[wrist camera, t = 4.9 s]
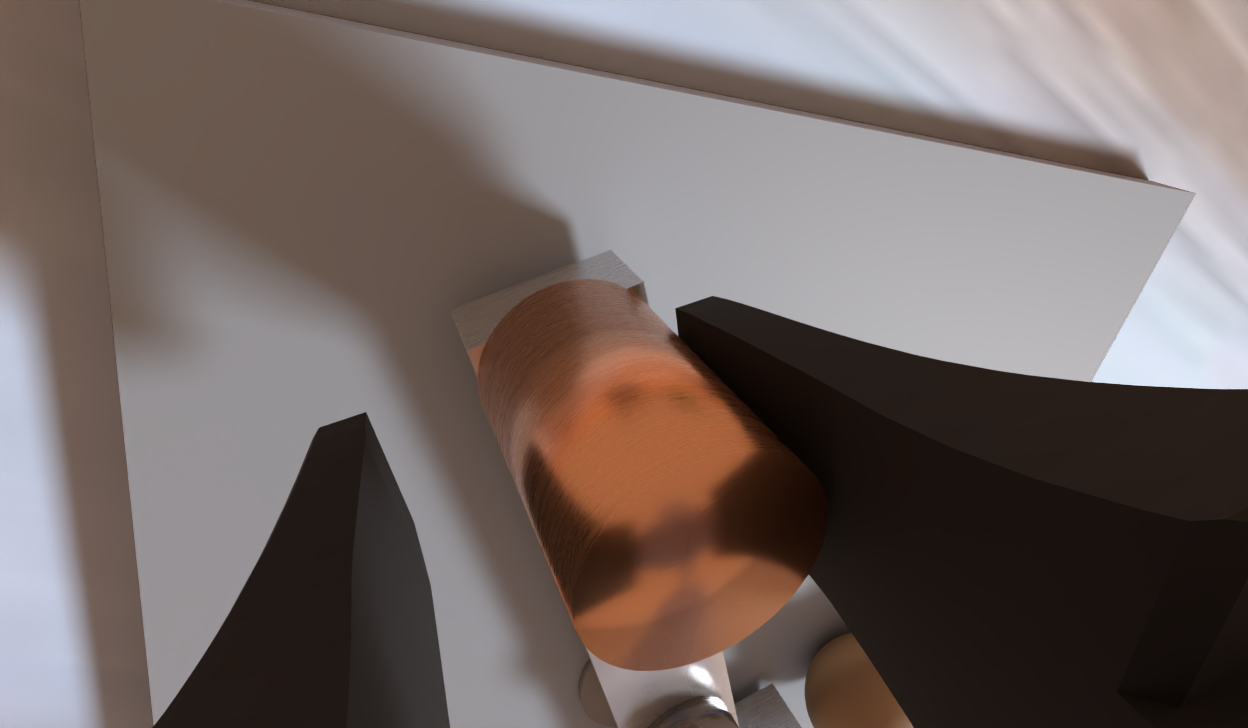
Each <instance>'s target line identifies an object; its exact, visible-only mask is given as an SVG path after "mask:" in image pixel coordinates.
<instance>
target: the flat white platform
mask: <svg viewBox="0 0 1248 728" xmlns="http://www.w3.org/2000/svg"><path fill="white" fill-rule="evenodd" d="M79 4H80V14H81V24H82V33H83V43H84V53H85V63H86V72H87V82H88V92H89V102H90V111H91V121H92V131H93V141H94V150H95V160H96V170H97V180H98V189H99V199H100V209H101V218H102V228H103V238H104V248H105V257H106V267H107V277H108V287H109V296H110V306H111V316H112V326H113V335H114V345H115V355H116V365H117V374H118V384H119V394H120V404H121V413H122V423H123V433H124V442H125V452H126V462H127V472H128V481H129V491H130V501H131V511H132V520H133V530H134V540H135V550H136V559H137V569H138V579H139V589H140V598H141V608H142V618H143V627H144V637H145V647H146V657H147V666H148V676H149V686H150V696H151V705H152V715H153V725H155V724H156V722H157V721H158V720H159V719H160V717H161V716H162V715H163V713H164V712H165V711H166V709H167V708H168V706H169V705H170V704H171V702H172V701H173V699H174V698H175V697H176V695H177V694H178V692H179V691H180V689H181V688H182V686H183V685H184V683H185V682H186V680H187V679H188V677H189V676H190V675H191V673H192V672H193V670H194V669H195V667H196V666H197V664H198V663H199V661H200V660H201V658H202V657H203V655H204V653H205V652H206V650H207V649H208V647H209V646H210V644H211V642H212V641H213V639H214V637H215V636H216V634H217V632H218V631H219V629H220V628H221V626H222V624H223V623H224V621H225V619H226V617H227V616H228V614H229V612H230V611H231V609H232V607H233V605H234V603H235V601H236V600H237V598H238V596H239V594H240V592H241V590H242V589H243V587H244V585H245V583H246V581H247V579H248V578H249V576H250V574H251V572H252V570H253V569H254V567H255V565H256V563H257V561H258V559H259V557H260V555H261V553H262V551H263V550H264V548H265V546H266V543H267V541H268V539H269V537H270V535H271V533H272V531H273V529H274V527H275V524H276V522H277V520H278V518H279V516H280V514H281V512H282V510H283V508H284V505H285V503H286V501H287V499H288V496H289V494H290V492H291V490H292V487H293V485H294V483H295V480H296V478H297V476H298V473H299V471H300V468H301V466H302V464H303V461H304V459H305V456H306V454H307V451H308V449H309V446H310V444H311V442H312V439H313V437H314V435H315V434H316V432H317V430H318V428H319V427H322V426H325V425H328V424H331V423H334V422H337V421H340V420H343V419H346V418H349V417H352V416H355V415H358V414H361V413H364V412H366V413H367V415H368V417H369V420H370V422H371V424H372V427H373V429H374V431H375V434H376V436H377V438H378V440H379V443H380V445H381V447H382V450H383V452H384V454H385V456H386V459H387V461H388V463H389V466H390V468H391V470H392V473H393V475H394V477H395V479H396V482H397V484H398V486H399V489H400V491H401V493H402V495H403V498H404V500H405V502H406V505H407V507H408V509H409V512H410V514H411V516H412V518H413V521H414V524H415V527H416V531H417V535H418V539H419V542H420V546H421V550H422V553H423V557H424V561H425V565H426V569H427V573H428V576H429V580H430V584H431V590H432V597H433V604H434V612H435V619H436V626H437V633H438V640H439V648H440V655H441V663H442V670H443V678H444V685H445V693H446V700H447V708H448V715H449V723H450V728H618V727H617V725H616V722H615V720H614V717H613V715H612V712H611V710H610V708H609V705H608V703H607V700H606V698H605V695H604V693H603V690H602V688H601V685H600V683H599V680H598V678H597V675H596V673H595V670H594V668H593V665H592V663H591V660H590V658H589V655H588V653H587V650H586V648H585V645H584V644H583V643H582V641H581V639H580V637H579V635H578V633H577V631H576V629H575V627H574V624H573V622H572V619H571V617H570V615H569V612H568V610H567V607H566V605H565V603H564V600H563V598H562V595H561V593H560V591H559V588H558V586H557V583H556V581H555V579H554V576H553V574H552V571H551V569H550V567H549V564H548V562H547V560H546V557H545V555H544V552H543V550H542V548H541V545H540V543H539V540H538V538H537V536H536V533H535V531H534V528H533V526H532V524H531V521H530V519H529V516H528V514H527V512H526V509H525V507H524V504H523V502H522V500H521V497H520V495H519V492H518V490H517V488H516V485H515V483H514V480H513V478H512V476H511V473H510V471H509V468H508V466H507V464H506V461H505V459H504V457H503V454H502V452H501V449H500V447H499V445H498V442H497V440H496V437H495V435H494V433H493V430H492V428H491V425H490V423H489V421H488V418H487V416H486V413H485V411H484V409H483V406H482V403H481V400H480V397H479V390H478V379H477V376H476V374H475V372H474V369H473V367H472V364H471V362H470V359H469V357H468V354H467V352H466V349H465V347H464V344H463V342H462V339H461V337H460V334H459V332H458V329H457V327H456V324H455V322H454V319H453V317H452V314H451V312H450V310H451V309H454V308H456V307H459V306H462V305H464V304H467V303H470V302H472V301H475V300H478V299H480V298H483V297H486V296H488V295H491V294H494V293H496V292H499V291H502V290H504V289H507V288H510V287H513V286H515V285H518V284H521V283H523V282H526V281H529V280H531V279H534V278H537V277H539V276H542V275H545V274H547V273H550V272H553V271H555V270H558V269H561V268H563V267H566V266H569V265H571V264H574V263H577V262H579V261H582V260H585V259H587V258H590V257H593V256H595V255H598V254H601V253H604V252H606V251H609V250H611V251H612V252H613V253H614V254H615V255H617V256H618V257H619V258H620V259H621V260H622V261H623V262H624V263H625V264H626V265H627V266H628V267H629V268H630V269H631V270H632V271H633V272H634V273H635V274H636V275H637V276H638V277H639V278H640V279H641V280H643V281H644V284H645V289H646V294H647V298H648V303H649V307H650V308H651V309H652V310H653V311H654V312H655V313H656V314H657V315H658V316H659V317H660V318H661V319H662V320H663V321H664V322H665V323H666V324H667V325H668V326H669V327H670V328H671V329H672V330H673V331H674V332H675V333H676V334H677V335H678V328H677V319H676V311H675V308H678V307H681V306H684V305H687V304H690V303H693V302H696V301H699V300H702V299H705V298H708V297H711V296H716V297H720V298H724V299H728V300H732V301H735V302H738V303H742V304H745V305H748V306H751V307H755V308H758V309H761V310H764V311H767V312H770V313H773V314H776V315H779V316H782V317H785V318H788V319H792V320H795V321H798V322H801V323H804V324H807V325H810V326H813V327H817V328H820V329H823V330H826V331H830V332H833V333H836V334H840V335H843V336H846V337H850V338H853V339H857V340H860V341H864V342H867V343H871V344H875V345H879V346H883V347H887V348H891V349H895V350H899V351H902V352H906V353H910V354H914V355H919V356H923V357H928V358H933V359H937V360H942V361H947V362H953V363H958V364H964V365H969V366H975V367H980V368H986V369H991V370H997V371H1004V372H1011V373H1017V374H1024V375H1032V376H1041V377H1050V378H1058V379H1067V380H1076V381H1085V382H1091V381H1092V379H1093V378H1094V376H1095V374H1096V372H1097V370H1098V369H1099V367H1100V365H1101V363H1102V361H1103V360H1104V358H1105V356H1106V354H1107V352H1108V351H1109V349H1110V347H1111V345H1112V343H1113V342H1114V340H1115V338H1116V336H1117V335H1118V333H1119V331H1120V329H1121V327H1122V326H1123V324H1124V322H1125V320H1126V318H1127V317H1128V315H1129V313H1130V311H1131V309H1132V308H1133V306H1134V304H1135V302H1136V300H1137V299H1138V297H1139V295H1140V293H1141V291H1142V290H1143V288H1144V286H1145V284H1146V282H1147V281H1148V279H1149V277H1150V275H1151V273H1152V272H1153V270H1154V268H1155V266H1156V264H1157V263H1158V261H1159V259H1160V257H1161V255H1162V254H1163V252H1164V250H1165V248H1166V247H1167V245H1168V243H1169V241H1170V239H1171V238H1172V236H1173V234H1174V232H1175V230H1176V229H1177V227H1178V225H1179V223H1180V221H1181V220H1182V218H1183V216H1184V214H1185V212H1186V211H1187V209H1188V207H1189V205H1190V203H1191V202H1192V200H1193V198H1194V196H1195V194H1196V193H1192V192H1189V191H1185V190H1182V189H1178V188H1174V187H1171V186H1167V185H1164V184H1160V183H1157V182H1153V181H1149V180H1144V179H1139V178H1134V177H1129V176H1124V175H1119V174H1114V173H1109V172H1104V171H1099V170H1094V169H1089V168H1084V167H1079V166H1074V165H1069V164H1064V163H1059V162H1054V161H1049V160H1044V159H1039V158H1034V157H1029V156H1024V155H1019V154H1014V153H1009V152H1004V151H999V150H994V149H989V148H984V147H979V146H974V145H969V144H964V143H959V142H954V141H949V140H944V139H939V138H934V137H929V136H924V135H919V134H914V133H909V132H904V131H899V130H894V129H889V128H884V127H879V126H874V125H869V124H864V123H859V122H854V121H849V120H844V119H839V118H834V117H829V116H824V115H819V114H814V113H809V112H804V111H799V110H795V109H790V108H785V107H780V106H775V105H770V104H765V103H760V102H755V101H750V100H745V99H740V98H735V97H730V96H725V95H720V94H715V93H710V92H705V91H700V90H695V89H690V88H685V87H680V86H675V85H670V84H665V83H660V82H655V81H650V80H645V79H640V78H635V77H630V76H625V75H620V74H615V73H610V72H605V71H600V70H595V69H590V68H585V67H580V66H575V65H570V64H565V63H560V62H555V61H550V60H545V59H540V58H535V57H530V56H525V55H520V54H515V53H510V52H505V51H500V50H495V49H490V48H485V47H480V46H475V45H470V44H465V43H460V42H455V41H450V40H445V39H440V38H435V37H430V36H425V35H420V34H415V33H410V32H405V31H400V30H395V29H390V28H385V27H380V26H375V25H370V24H365V23H360V22H355V21H350V20H345V19H340V18H335V17H330V16H325V15H320V14H315V13H310V12H305V11H300V10H295V9H290V8H285V7H280V6H275V5H270V4H265V3H260V2H255V1H250V0H79ZM847 633H851V631H850V630H849V629H848V627H847V626H846V624H845V623H844V621H843V620H842V618H841V617H840V615H839V614H838V612H837V611H836V610H835V608H834V607H833V605H832V604H831V602H830V601H829V600H828V598H827V597H826V596H825V594H824V593H823V592H822V591H821V589H820V588H819V587H818V585H817V584H816V583H815V582H814V580H813V579H812V578H811V576H810V575H809V574H808V576H807V577H806V579H805V580H804V582H803V583H802V585H801V586H800V587H799V589H798V590H797V591H796V592H795V594H794V595H793V596H792V597H791V598H790V600H789V601H788V602H787V603H786V604H785V605H784V606H783V607H782V608H781V609H780V610H779V611H778V612H777V613H776V614H775V615H774V616H773V617H772V618H770V619H769V620H768V621H767V622H766V623H765V624H763V625H762V626H761V627H760V628H758V629H757V630H756V631H754V632H753V633H752V634H750V635H749V636H747V637H746V638H744V639H743V640H741V641H740V642H738V643H736V644H734V645H733V646H731V647H729V648H727V649H726V650H724V651H723V654H724V658H725V663H726V668H727V672H728V677H729V682H730V686H731V691H732V696H733V701H734V704H735V703H737V702H738V701H740V700H742V699H744V698H746V697H748V696H750V695H751V694H753V693H755V692H757V691H759V690H761V689H763V688H764V687H766V686H768V685H770V684H772V683H773V685H774V686H775V688H776V689H777V691H778V692H779V694H780V695H781V697H782V698H783V700H784V701H785V703H786V705H787V706H788V708H789V709H790V711H791V712H792V714H793V715H794V717H795V718H796V720H797V721H798V723H799V724H800V726H801V728H814V727H813V725H812V723H811V721H810V718H809V716H808V712H807V709H806V703H805V680H806V675H807V672H808V668H809V666H810V664H811V662H812V660H813V658H814V657H815V655H816V654H817V652H818V651H819V650H820V649H821V648H822V647H823V646H824V645H825V644H827V643H828V642H829V641H831V640H832V639H834V638H836V637H838V636H841V635H844V634H847Z"/></svg>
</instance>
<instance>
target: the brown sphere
mask: <svg viewBox="0 0 1248 728" xmlns="http://www.w3.org/2000/svg"><path fill="white" fill-rule="evenodd" d="M805 703H806V709H807V712H808V716H809V718H810V721H811V723H812V725H813V727H814V728H914V727H913V726H912V724H911V722H910V721H909V719H908V718H907V716H906V715H905V713H904V712H903V710H902V708H901V707H900V705H899V704H898V702H897V701H896V699H895V698H894V696H893V695H892V693H891V692H890V690H889V688H888V687H887V685H886V684H885V682H884V681H883V679H882V678H881V676H880V675H879V673H878V672H877V670H876V668H875V667H874V665H873V664H872V662H871V661H870V659H869V658H868V656H867V655H866V653H865V652H864V650H863V649H862V648H861V646H860V645H859V643H858V642H857V640H856V639H855V637H854V636H853V634H852V633H847V634H844V635H841V636H838V637H836V638H834V639H832V640H831V641H829V642H828V643H827V644H825V645H824V646H823V647H822V648H821V649H820V650H819V651H818V652H817V654H816V655H815V657H814V658H813V660H812V662H811V664H810V666H809V668H808V672H807V675H806V680H805Z"/></svg>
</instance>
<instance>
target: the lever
mask: <svg viewBox="0 0 1248 728" xmlns="http://www.w3.org/2000/svg"><path fill="white" fill-rule="evenodd" d="M450 312H451V314H452V317H453V319H454V322H455V324H456V327H457V329H458V332H459V334H460V337H461V339H462V342H463V344H464V347H465V349H466V352H467V354H468V357H469V359H470V362H471V364H472V367H473V369H474V372H475V374H476V376H477V379H478V390H479V397H480V400H481V403H482V406H483V409H484V411H485V413H486V416H487V418H488V421H489V423H490V425H491V428H492V430H493V433H494V435H495V437H496V440H497V442H498V445H499V447H500V449H501V452H502V454H503V457H504V459H505V461H506V464H507V466H508V468H509V471H510V473H511V476H512V478H513V480H514V483H515V485H516V488H517V490H518V492H519V495H520V497H521V500H522V502H523V504H524V507H525V509H526V512H527V514H528V516H529V519H530V521H531V524H532V526H533V528H534V531H535V533H536V536H537V538H538V540H539V543H540V545H541V548H542V550H543V552H544V555H545V557H546V560H547V562H548V564H549V567H550V569H551V571H552V574H553V576H554V579H555V581H556V583H557V586H558V588H559V591H560V593H561V595H562V598H563V600H564V603H565V605H566V607H567V610H568V612H569V615H570V617H571V619H572V622H573V624H574V627H575V629H576V631H577V633H578V635H579V637H580V639H581V641H582V643H583V644H584V645H585V648H586V650H587V653H588V655H589V658H590V660H591V663H592V665H593V668H594V670H595V673H596V675H597V678H598V680H599V683H600V685H601V688H602V690H603V693H604V695H605V698H606V700H607V703H608V705H609V708H610V710H611V712H612V715H613V717H614V720H615V722H616V725H617V727H618V728H801V726H800V724H799V723H798V721H797V720H796V718H795V717H794V715H793V714H792V712H791V711H790V709H789V708H788V706H787V705H786V703H785V701H784V700H783V698H782V697H781V695H780V694H779V692H778V691H777V689H776V688H775V686H774V685H773V683H772V684H770V685H768V686H766V687H764V688H763V689H761V690H759V691H757V692H755V693H753V694H751V695H750V696H748V697H746V698H744V699H742V700H740V701H738V702H737V703H735V704H734V701H733V696H732V691H731V686H730V682H729V677H728V672H727V668H726V663H725V658H724V654H723V651H724V650H726V649H727V648H729V647H731V646H733V645H734V644H736V643H738V642H740V641H741V640H743V639H744V638H746V637H747V636H749V635H750V634H752V633H753V632H754V631H756V630H757V629H758V628H760V627H761V626H762V625H763V624H765V623H766V622H767V621H768V620H769V619H770V618H772V617H773V616H774V615H775V614H776V613H777V612H778V611H779V610H780V609H781V608H782V607H783V606H784V605H785V604H786V603H787V602H788V601H789V600H790V598H791V597H792V596H793V595H794V594H795V592H796V591H797V590H798V589H799V587H800V586H801V585H802V583H803V582H804V580H805V579H806V577H807V576H808V574H809V572H810V571H811V569H812V567H813V565H814V564H815V562H816V559H817V557H818V555H819V553H820V550H821V548H822V544H823V541H824V538H825V534H826V528H827V522H828V508H827V501H826V496H825V493H824V491H823V488H822V486H821V484H820V482H819V481H818V479H817V477H816V476H815V475H814V474H813V473H812V472H811V471H810V469H809V468H808V467H807V466H806V465H805V464H804V463H803V462H802V461H801V460H800V459H799V458H798V457H797V456H796V455H795V454H794V453H793V452H792V451H791V450H790V449H789V448H788V447H787V446H786V445H785V444H784V443H783V442H782V441H781V440H780V439H779V438H778V437H777V436H776V435H775V434H774V433H773V432H772V431H771V430H770V429H769V428H768V427H767V426H766V425H765V424H764V423H763V422H762V421H761V420H760V419H759V418H758V417H757V416H756V415H755V414H754V413H753V412H752V411H751V410H750V408H749V407H748V406H747V405H746V404H745V403H744V402H743V401H742V400H741V399H740V398H739V397H738V396H737V395H736V394H735V393H734V392H733V391H732V390H731V389H730V388H729V387H728V386H727V385H726V384H725V383H724V382H723V381H722V380H721V379H720V378H719V377H718V376H717V375H716V374H715V373H714V372H713V371H712V370H711V369H710V368H709V367H708V366H707V365H706V364H705V363H704V362H703V361H702V360H701V359H700V358H699V357H698V356H697V355H696V354H695V353H694V352H693V351H692V350H691V349H690V348H689V347H688V346H687V345H686V344H685V343H684V341H683V340H682V339H681V338H680V337H679V336H678V335H677V334H676V333H675V332H674V331H673V330H672V329H671V328H670V327H669V326H668V325H667V324H666V323H665V322H664V321H663V320H662V319H661V318H660V317H659V316H658V315H657V314H656V313H655V312H654V311H653V310H652V309H651V308H650V307H649V303H648V298H647V294H646V289H645V284H644V281H643V280H641V279H640V278H639V277H638V276H637V275H636V274H635V273H634V272H633V271H632V270H631V269H630V268H629V267H628V266H627V265H626V264H625V263H624V262H623V261H622V260H621V259H620V258H619V257H618V256H617V255H615V254H614V253H613V252H612V251H611V250H609V251H606V252H604V253H601V254H598V255H595V256H593V257H590V258H587V259H585V260H582V261H579V262H577V263H574V264H571V265H569V266H566V267H563V268H561V269H558V270H555V271H553V272H550V273H547V274H545V275H542V276H539V277H537V278H534V279H531V280H529V281H526V282H523V283H521V284H518V285H515V286H513V287H510V288H507V289H504V290H502V291H499V292H496V293H494V294H491V295H488V296H486V297H483V298H480V299H478V300H475V301H472V302H470V303H467V304H464V305H462V306H459V307H456V308H454V309H451V310H450Z"/></svg>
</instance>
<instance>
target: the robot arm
mask: <svg viewBox="0 0 1248 728" xmlns="http://www.w3.org/2000/svg"><path fill="white" fill-rule="evenodd" d="M675 311H676V319H677V328H678V336H679V337H680V338H681V339H682V340H683V341H684V343H685V344H686V345H687V346H688V347H689V348H690V349H691V350H692V351H693V352H694V353H695V354H696V355H697V356H698V357H699V358H700V359H701V360H702V361H703V362H704V363H705V364H706V365H707V366H708V367H709V368H710V369H711V370H712V371H713V372H714V373H715V374H716V375H717V376H718V377H719V378H720V379H721V380H722V381H723V382H724V383H725V384H726V385H727V386H728V387H729V388H730V389H731V390H732V391H733V392H734V393H735V394H736V395H737V396H738V397H739V398H740V399H741V400H742V401H743V402H744V403H745V404H746V405H747V406H748V407H749V408H750V410H751V411H752V412H753V413H754V414H755V415H756V416H757V417H758V418H759V419H760V420H761V421H762V422H763V423H764V424H765V425H766V426H767V427H768V428H769V429H770V430H771V431H772V432H773V433H774V434H775V435H776V436H777V437H778V438H779V439H780V440H781V441H782V442H783V443H784V444H785V445H786V446H787V447H788V448H789V449H790V450H791V451H792V452H793V453H794V454H795V455H796V456H797V457H798V458H799V459H800V460H801V461H802V462H803V463H804V464H805V465H806V466H807V467H808V468H809V469H810V471H811V472H812V473H813V474H814V475H815V476H816V477H817V479H818V481H819V482H820V484H821V486H822V488H823V491H824V493H825V496H826V501H827V508H828V522H827V528H826V534H825V538H824V541H823V544H822V548H821V550H820V553H819V555H818V557H817V559H816V562H815V564H814V565H813V567H812V569H811V571H810V572H809V575H810V576H811V578H812V579H813V580H814V582H815V583H816V584H817V585H818V587H819V588H820V589H821V591H822V592H823V593H824V594H825V596H826V597H827V598H828V600H829V601H830V602H831V604H832V605H833V607H834V608H835V610H836V611H837V612H838V614H839V615H840V617H841V618H842V620H843V621H844V623H845V624H846V626H847V627H848V629H849V630H850V631H851V633H852V634H853V636H854V637H855V639H856V640H857V642H858V643H859V645H860V646H861V648H862V649H863V650H864V652H865V653H866V655H867V656H868V658H869V659H870V661H871V662H872V664H873V665H874V667H875V668H876V670H877V672H878V673H879V675H880V676H881V678H882V679H883V681H884V682H885V684H886V685H887V687H888V688H889V690H890V692H891V693H892V695H893V696H894V698H895V699H896V701H897V702H898V704H899V705H900V707H901V708H902V710H903V712H904V713H905V715H906V716H907V718H908V719H909V721H910V722H911V724H912V726H913V727H914V728H1248V389H1195V388H1174V387H1153V386H1134V385H1121V384H1108V383H1095V382H1085V381H1076V380H1067V379H1058V378H1050V377H1041V376H1032V375H1024V374H1017V373H1011V372H1004V371H997V370H991V369H986V368H980V367H975V366H969V365H964V364H958V363H953V362H947V361H942V360H937V359H933V358H928V357H923V356H919V355H914V354H910V353H906V352H902V351H899V350H895V349H891V348H887V347H883V346H879V345H875V344H871V343H867V342H864V341H860V340H857V339H853V338H850V337H846V336H843V335H840V334H836V333H833V332H830V331H826V330H823V329H820V328H817V327H813V326H810V325H807V324H804V323H801V322H798V321H795V320H792V319H788V318H785V317H782V316H779V315H776V314H773V313H770V312H767V311H764V310H761V309H758V308H755V307H751V306H748V305H745V304H742V303H738V302H735V301H732V300H728V299H724V298H720V297H716V296H711V297H708V298H705V299H702V300H699V301H696V302H693V303H690V304H687V305H684V306H681V307H678V308H675ZM153 728H450V723H449V715H448V708H447V700H446V693H445V685H444V678H443V670H442V663H441V655H440V648H439V640H438V633H437V626H436V619H435V612H434V604H433V597H432V590H431V584H430V580H429V576H428V573H427V569H426V565H425V561H424V557H423V553H422V550H421V546H420V542H419V539H418V535H417V531H416V527H415V524H414V521H413V518H412V516H411V514H410V512H409V509H408V507H407V505H406V502H405V500H404V498H403V495H402V493H401V491H400V489H399V486H398V484H397V482H396V479H395V477H394V475H393V473H392V470H391V468H390V466H389V463H388V461H387V459H386V456H385V454H384V452H383V450H382V447H381V445H380V443H379V440H378V438H377V436H376V434H375V431H374V429H373V427H372V424H371V422H370V420H369V417H368V415H367V413H366V412H364V413H361V414H358V415H355V416H352V417H349V418H346V419H343V420H340V421H337V422H334V423H331V424H328V425H325V426H322V427H319V428H318V430H317V432H316V434H315V435H314V437H313V439H312V442H311V444H310V446H309V449H308V451H307V454H306V456H305V459H304V461H303V464H302V466H301V468H300V471H299V473H298V476H297V478H296V480H295V483H294V485H293V487H292V490H291V492H290V494H289V496H288V499H287V501H286V503H285V505H284V508H283V510H282V512H281V514H280V516H279V518H278V520H277V522H276V524H275V527H274V529H273V531H272V533H271V535H270V537H269V539H268V541H267V543H266V546H265V548H264V550H263V551H262V553H261V555H260V557H259V559H258V561H257V563H256V565H255V567H254V569H253V570H252V572H251V574H250V576H249V578H248V579H247V581H246V583H245V585H244V587H243V589H242V590H241V592H240V594H239V596H238V598H237V600H236V601H235V603H234V605H233V607H232V609H231V611H230V612H229V614H228V616H227V617H226V619H225V621H224V623H223V624H222V626H221V628H220V629H219V631H218V632H217V634H216V636H215V637H214V639H213V641H212V642H211V644H210V646H209V647H208V649H207V650H206V652H205V653H204V655H203V657H202V658H201V660H200V661H199V663H198V664H197V666H196V667H195V669H194V670H193V672H192V673H191V675H190V676H189V677H188V679H187V680H186V682H185V683H184V685H183V686H182V688H181V689H180V691H179V692H178V694H177V695H176V697H175V698H174V699H173V701H172V702H171V704H170V705H169V706H168V708H167V709H166V711H165V712H164V713H163V715H162V716H161V717H160V719H159V720H158V721H157V722H156V724H155V725H154V726H153Z"/></svg>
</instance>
